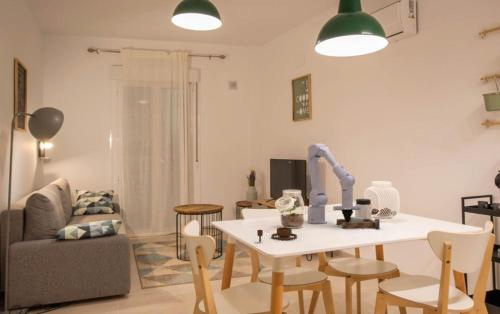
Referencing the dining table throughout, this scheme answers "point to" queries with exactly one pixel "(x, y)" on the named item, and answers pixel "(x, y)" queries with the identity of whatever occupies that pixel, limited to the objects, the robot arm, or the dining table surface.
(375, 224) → the wooden tray
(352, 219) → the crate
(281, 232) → the place setting
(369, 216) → the jar
